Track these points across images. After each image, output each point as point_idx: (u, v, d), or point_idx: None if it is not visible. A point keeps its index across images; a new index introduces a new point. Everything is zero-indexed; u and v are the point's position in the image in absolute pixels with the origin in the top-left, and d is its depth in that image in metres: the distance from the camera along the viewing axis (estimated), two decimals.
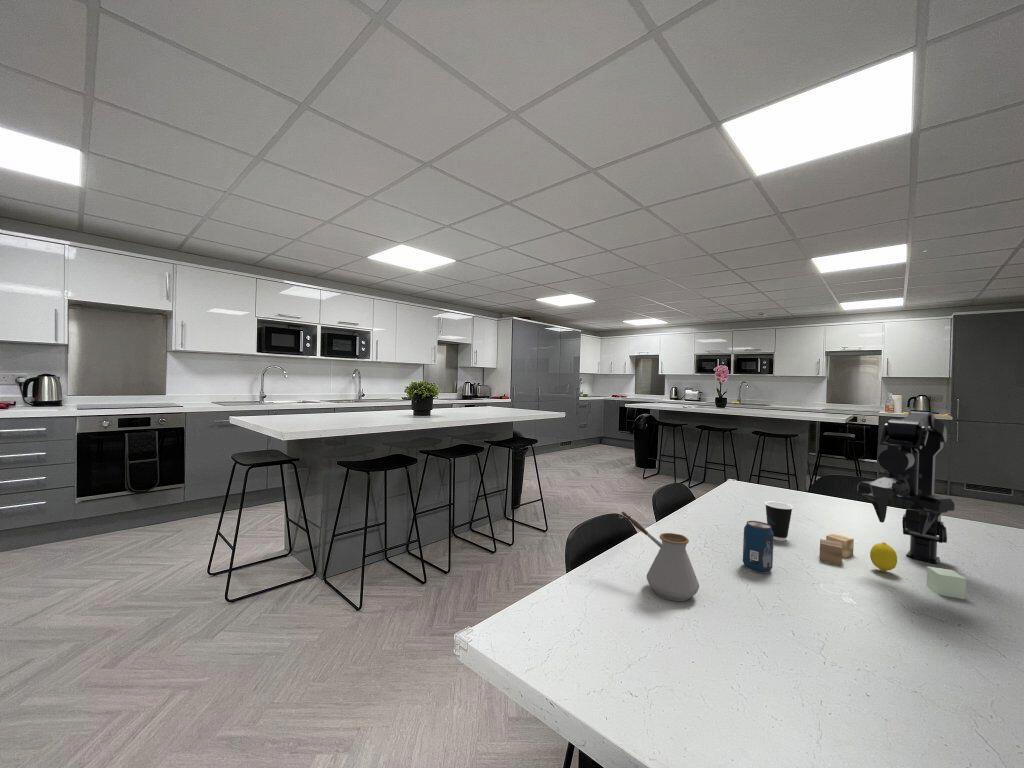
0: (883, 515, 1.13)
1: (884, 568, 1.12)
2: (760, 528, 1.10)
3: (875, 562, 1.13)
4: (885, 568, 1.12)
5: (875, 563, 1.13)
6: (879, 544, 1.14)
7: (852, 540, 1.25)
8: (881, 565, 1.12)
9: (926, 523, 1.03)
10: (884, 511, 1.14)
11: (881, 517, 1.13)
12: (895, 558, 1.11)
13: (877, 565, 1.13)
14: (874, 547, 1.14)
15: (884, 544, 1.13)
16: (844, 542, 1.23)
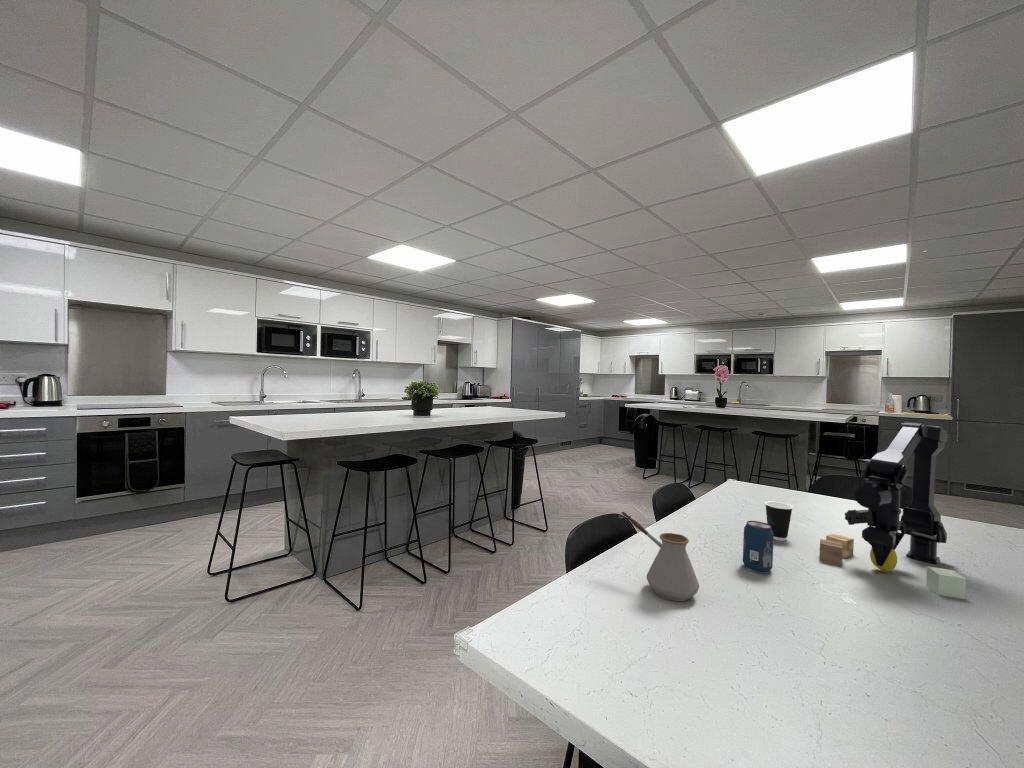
0: None
1: (884, 568, 1.12)
2: (760, 528, 1.10)
3: (875, 562, 1.13)
4: (885, 568, 1.12)
5: (875, 563, 1.13)
6: None
7: (852, 540, 1.25)
8: None
9: (876, 554, 1.11)
10: None
11: None
12: (895, 558, 1.11)
13: (877, 565, 1.13)
14: None
15: None
16: (844, 542, 1.23)
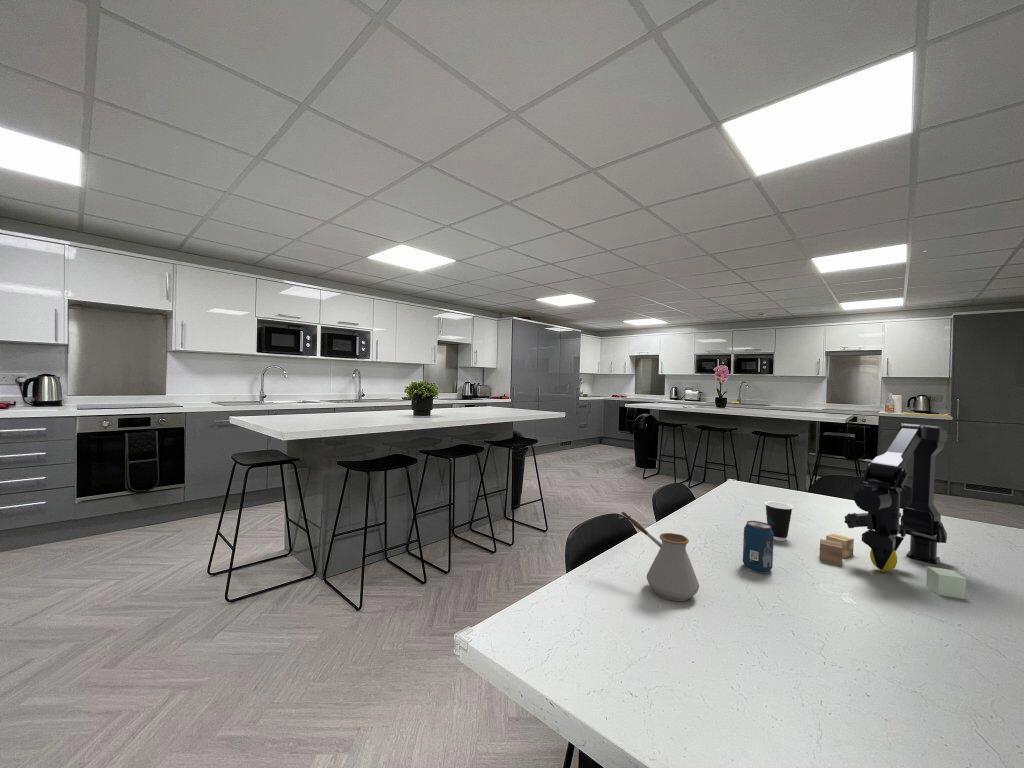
0: None
1: (884, 568, 1.12)
2: (760, 528, 1.10)
3: (875, 562, 1.13)
4: (885, 568, 1.12)
5: (875, 563, 1.13)
6: None
7: (852, 540, 1.25)
8: None
9: (876, 557, 1.11)
10: None
11: None
12: (895, 558, 1.11)
13: None
14: None
15: None
16: (844, 542, 1.23)
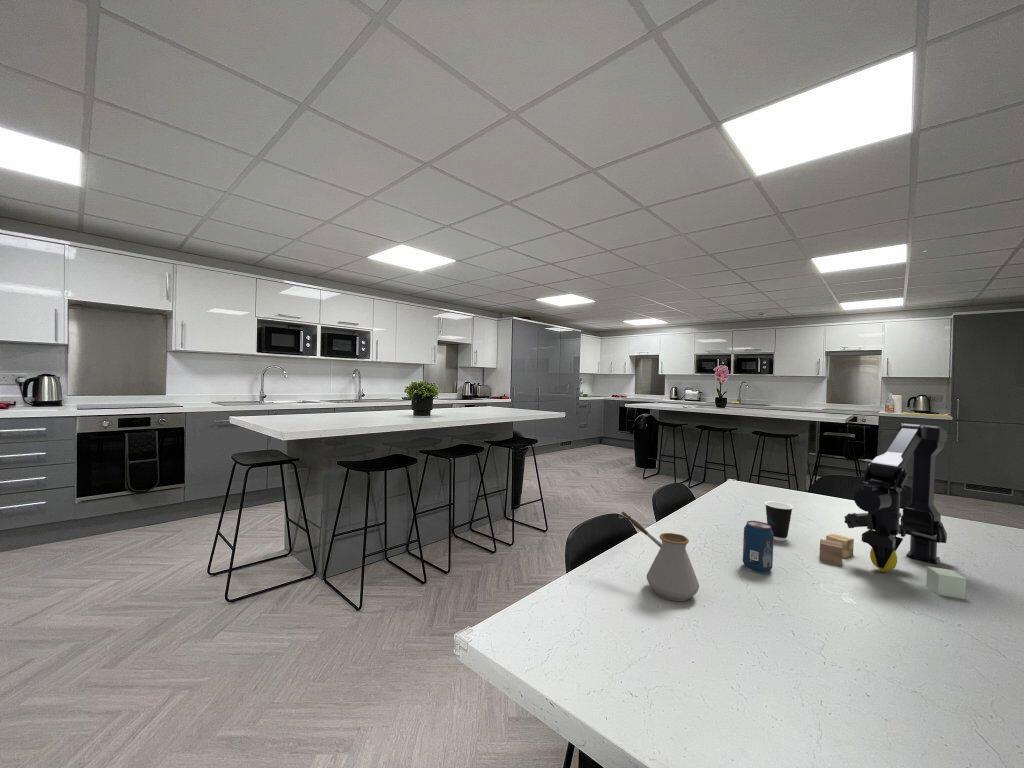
0: None
1: (884, 568, 1.12)
2: (760, 528, 1.10)
3: (875, 562, 1.13)
4: (885, 568, 1.12)
5: (875, 563, 1.13)
6: None
7: (852, 540, 1.25)
8: None
9: (877, 556, 1.12)
10: None
11: None
12: (895, 558, 1.11)
13: (877, 565, 1.13)
14: None
15: None
16: (844, 542, 1.23)
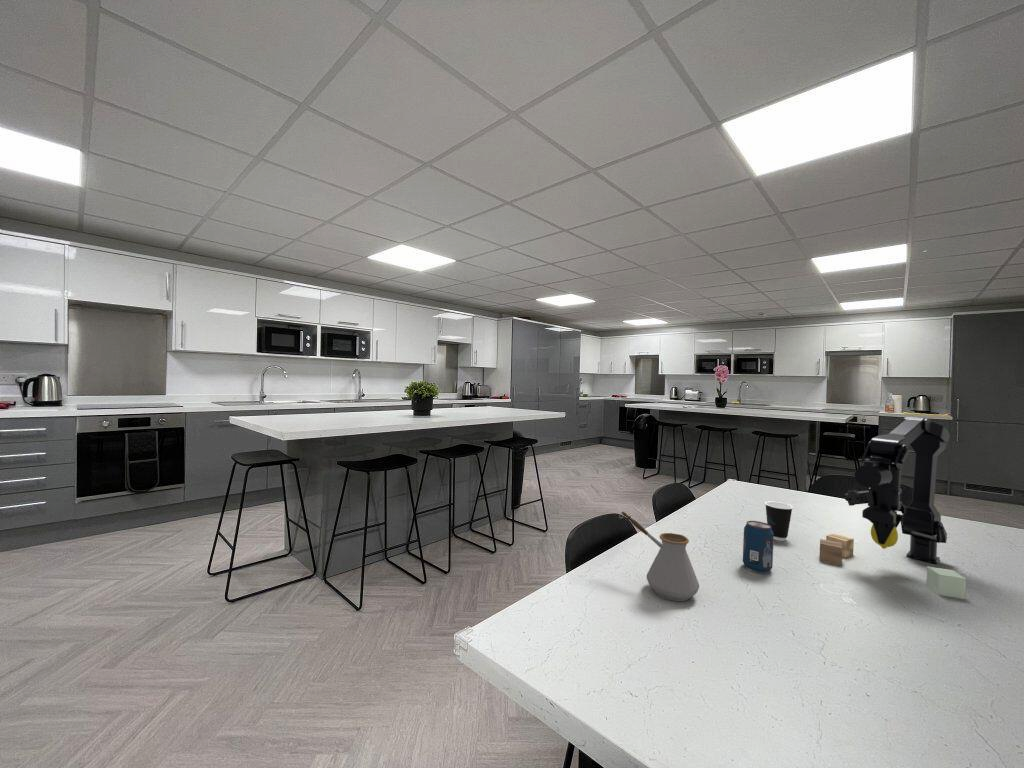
0: None
1: (885, 544, 1.12)
2: (760, 528, 1.10)
3: (876, 538, 1.13)
4: (886, 544, 1.12)
5: (876, 540, 1.13)
6: None
7: (852, 540, 1.25)
8: None
9: (878, 532, 1.12)
10: None
11: None
12: (896, 534, 1.11)
13: (878, 542, 1.13)
14: None
15: None
16: (844, 542, 1.23)
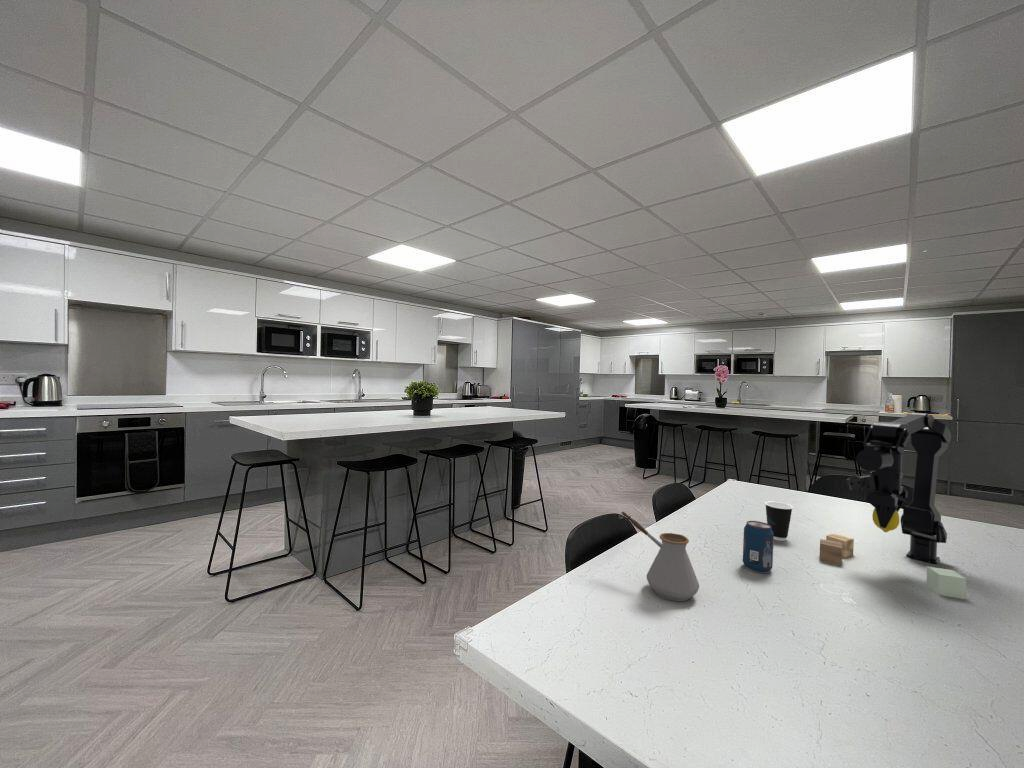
0: None
1: (886, 528, 1.13)
2: (760, 528, 1.10)
3: (877, 522, 1.14)
4: (887, 528, 1.12)
5: (877, 523, 1.14)
6: None
7: (852, 540, 1.25)
8: None
9: (880, 516, 1.12)
10: None
11: None
12: (897, 518, 1.12)
13: (879, 525, 1.14)
14: None
15: None
16: (844, 542, 1.23)
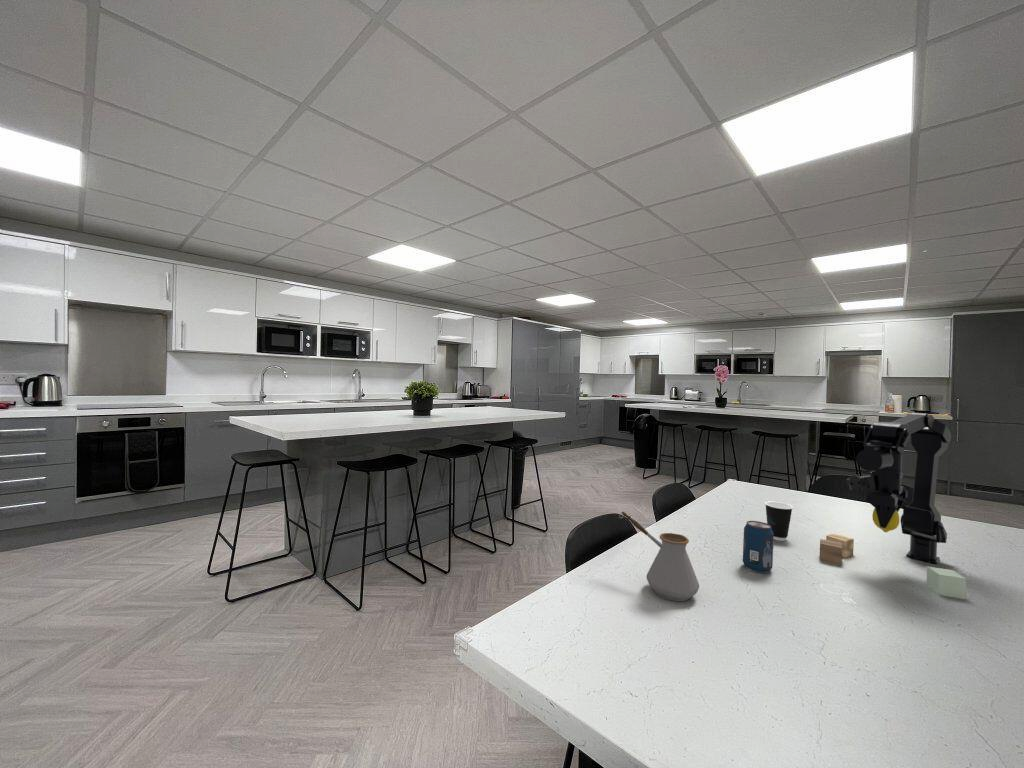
0: None
1: (886, 528, 1.13)
2: (760, 528, 1.10)
3: (877, 522, 1.14)
4: (887, 528, 1.12)
5: (877, 523, 1.14)
6: None
7: (852, 540, 1.25)
8: None
9: (880, 516, 1.12)
10: None
11: None
12: (897, 518, 1.12)
13: (879, 525, 1.14)
14: None
15: None
16: (844, 542, 1.23)
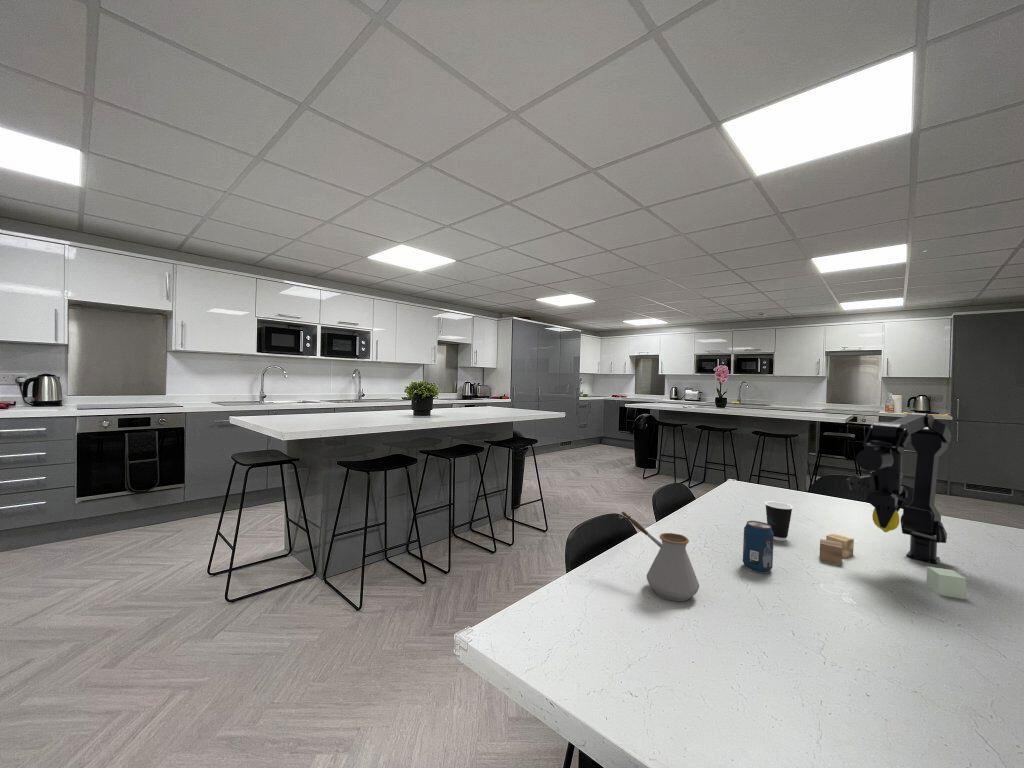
0: None
1: (886, 528, 1.13)
2: (760, 528, 1.10)
3: (877, 522, 1.14)
4: (887, 528, 1.12)
5: (877, 523, 1.14)
6: None
7: (852, 540, 1.25)
8: None
9: (880, 516, 1.12)
10: None
11: None
12: (897, 518, 1.12)
13: (879, 525, 1.14)
14: None
15: None
16: (844, 542, 1.23)
